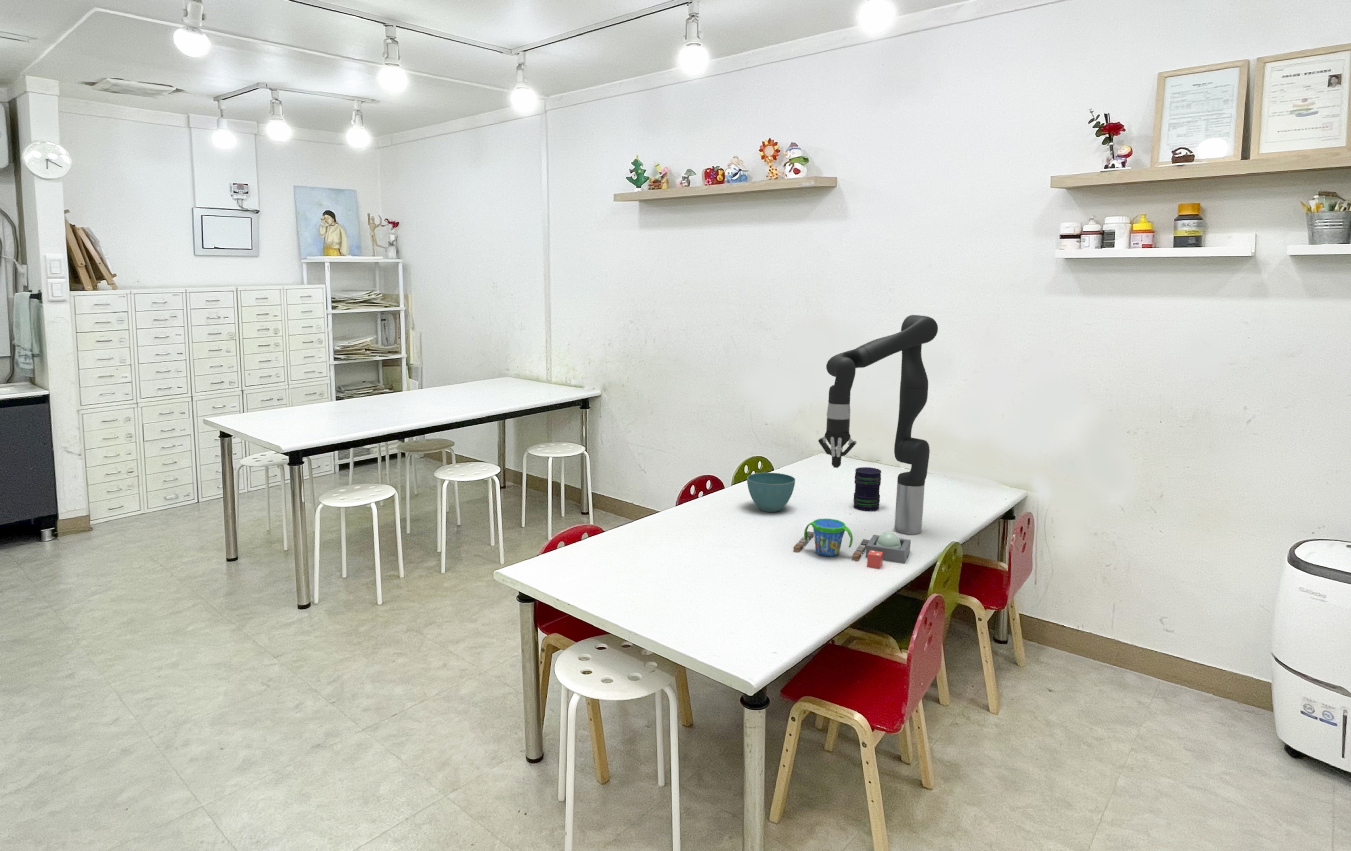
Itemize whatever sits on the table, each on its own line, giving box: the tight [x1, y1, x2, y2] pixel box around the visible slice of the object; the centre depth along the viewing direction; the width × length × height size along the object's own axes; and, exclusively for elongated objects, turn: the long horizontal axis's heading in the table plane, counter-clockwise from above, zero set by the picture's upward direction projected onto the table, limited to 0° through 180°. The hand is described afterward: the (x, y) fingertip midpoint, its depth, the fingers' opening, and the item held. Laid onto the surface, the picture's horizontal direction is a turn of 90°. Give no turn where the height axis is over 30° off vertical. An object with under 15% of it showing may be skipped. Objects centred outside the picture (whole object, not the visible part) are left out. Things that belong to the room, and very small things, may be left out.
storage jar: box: [853, 466, 882, 512], centre depth 313 cm, size 10×10×15 cm
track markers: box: [792, 530, 870, 562], centre depth 268 cm, size 18×21×2 cm
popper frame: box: [865, 534, 912, 564], centre depth 262 cm, size 12×12×4 cm
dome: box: [876, 531, 901, 549], centre depth 262 cm, size 8×8×7 cm
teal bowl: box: [746, 472, 796, 513], centre depth 310 cm, size 18×18×12 cm
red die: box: [866, 550, 884, 569], centre depth 252 cm, size 4×4×4 cm
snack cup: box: [803, 518, 854, 558], centre depth 262 cm, size 16×10×10 cm
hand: (836, 467), depth 273 cm, fingers closed
